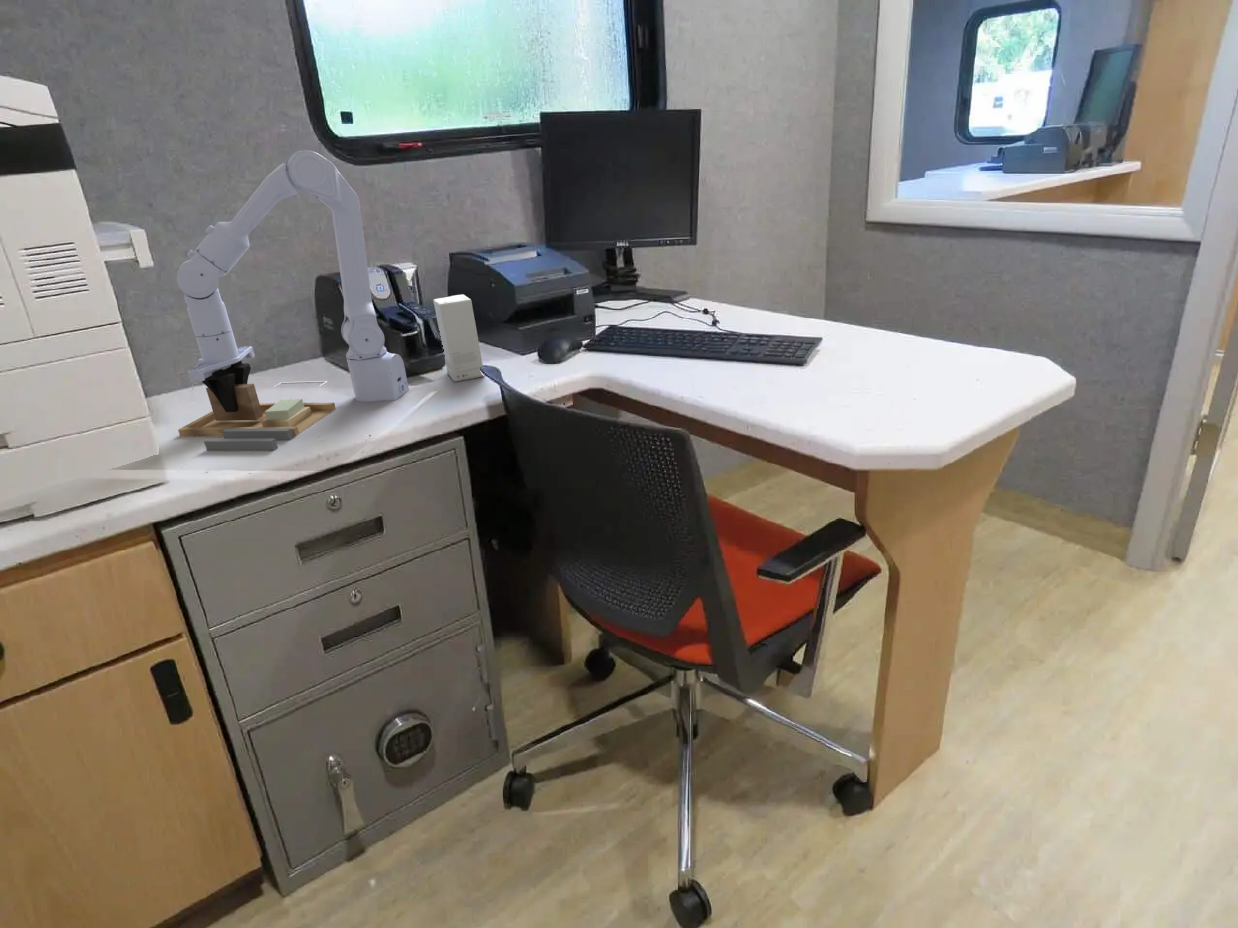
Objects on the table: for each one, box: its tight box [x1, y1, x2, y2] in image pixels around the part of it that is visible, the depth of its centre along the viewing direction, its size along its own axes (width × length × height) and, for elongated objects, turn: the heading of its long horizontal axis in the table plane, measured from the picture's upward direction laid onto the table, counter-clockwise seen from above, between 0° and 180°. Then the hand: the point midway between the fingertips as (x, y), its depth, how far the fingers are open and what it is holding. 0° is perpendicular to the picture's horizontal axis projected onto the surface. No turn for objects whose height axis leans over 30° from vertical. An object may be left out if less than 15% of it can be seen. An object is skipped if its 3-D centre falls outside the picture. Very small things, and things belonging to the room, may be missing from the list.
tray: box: [177, 402, 337, 437], centre depth 134 cm, size 22×13×2 cm, turn 80°
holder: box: [203, 428, 294, 452], centre depth 124 cm, size 12×6×3 cm, turn 80°
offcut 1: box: [265, 398, 304, 420], centre depth 132 cm, size 4×6×2 cm, turn 178°
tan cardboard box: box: [205, 383, 263, 421], centre depth 133 cm, size 8×2×6 cm, turn 80°
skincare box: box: [432, 293, 484, 382], centre depth 152 cm, size 8×7×16 cm
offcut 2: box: [261, 407, 312, 427], centre depth 132 cm, size 5×7×2 cm
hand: (236, 408), depth 134 cm, fingers closed on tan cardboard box, 2 cm apart
